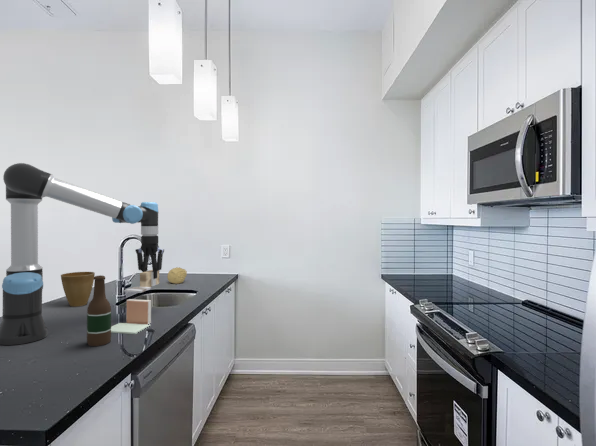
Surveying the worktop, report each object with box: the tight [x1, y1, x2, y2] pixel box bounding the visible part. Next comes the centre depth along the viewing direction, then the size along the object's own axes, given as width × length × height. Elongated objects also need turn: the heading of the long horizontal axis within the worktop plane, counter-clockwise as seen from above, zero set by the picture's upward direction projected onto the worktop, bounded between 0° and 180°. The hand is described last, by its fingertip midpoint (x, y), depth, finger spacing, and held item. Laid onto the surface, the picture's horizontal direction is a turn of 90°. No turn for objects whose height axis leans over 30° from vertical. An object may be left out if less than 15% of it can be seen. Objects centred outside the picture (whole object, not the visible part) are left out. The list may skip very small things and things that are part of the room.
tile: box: [125, 298, 152, 325], centre depth 157 cm, size 2×10×10 cm, turn 82°
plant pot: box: [60, 271, 96, 308], centre depth 188 cm, size 15×15×16 cm
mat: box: [111, 322, 152, 335], centre depth 150 cm, size 11×14×1 cm
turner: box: [123, 269, 160, 294], centre depth 169 cm, size 20×8×7 cm, turn 172°
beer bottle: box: [86, 274, 112, 347], centre depth 133 cm, size 8×8×24 cm
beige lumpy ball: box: [167, 266, 188, 285], centre depth 256 cm, size 11×12×11 cm
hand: (150, 285), depth 173 cm, fingers closed on turner, 3 cm apart
